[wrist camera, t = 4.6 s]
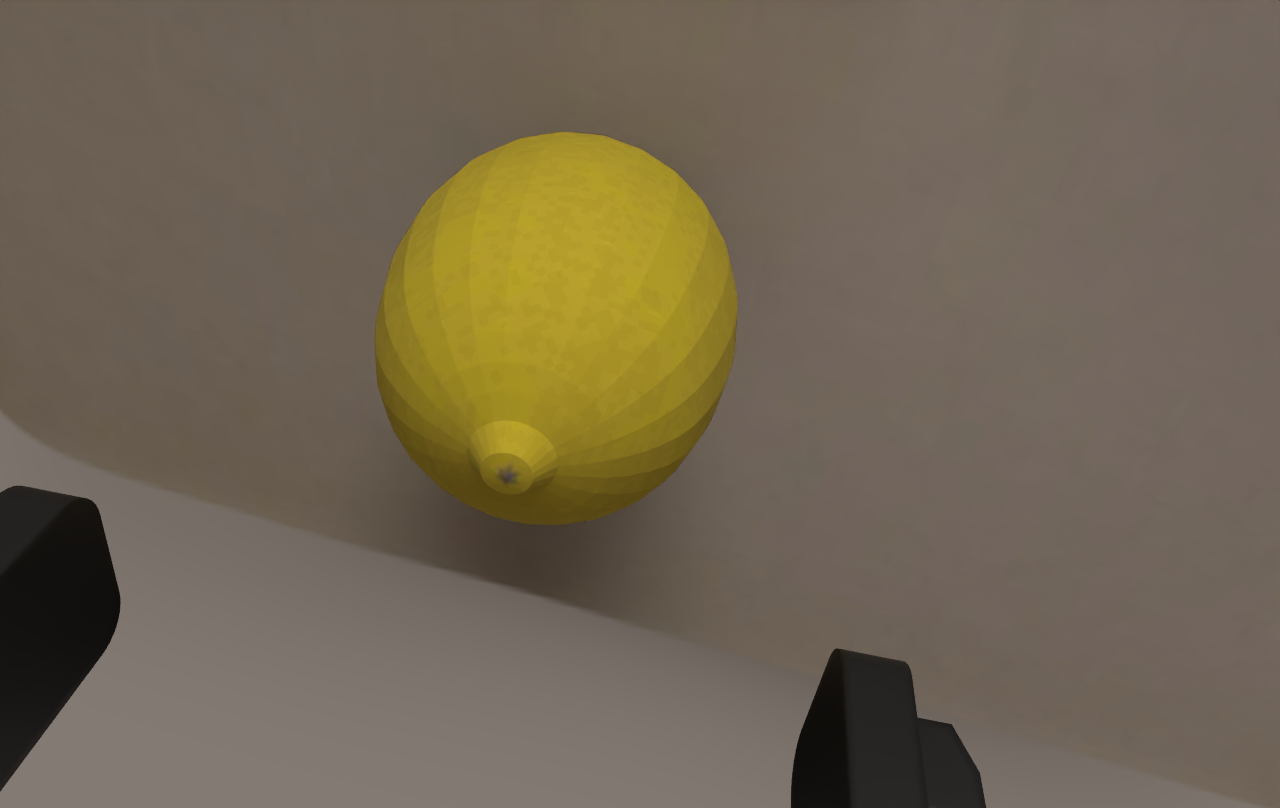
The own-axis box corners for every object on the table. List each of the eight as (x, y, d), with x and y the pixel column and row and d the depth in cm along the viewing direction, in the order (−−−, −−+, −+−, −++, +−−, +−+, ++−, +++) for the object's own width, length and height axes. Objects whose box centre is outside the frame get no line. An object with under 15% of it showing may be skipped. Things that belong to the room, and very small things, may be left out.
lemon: (709, 364, 20) (674, 663, 14) (451, 307, 20) (295, 580, 14) (779, 108, 17) (777, 343, 11) (473, 40, 17) (283, 233, 11)
